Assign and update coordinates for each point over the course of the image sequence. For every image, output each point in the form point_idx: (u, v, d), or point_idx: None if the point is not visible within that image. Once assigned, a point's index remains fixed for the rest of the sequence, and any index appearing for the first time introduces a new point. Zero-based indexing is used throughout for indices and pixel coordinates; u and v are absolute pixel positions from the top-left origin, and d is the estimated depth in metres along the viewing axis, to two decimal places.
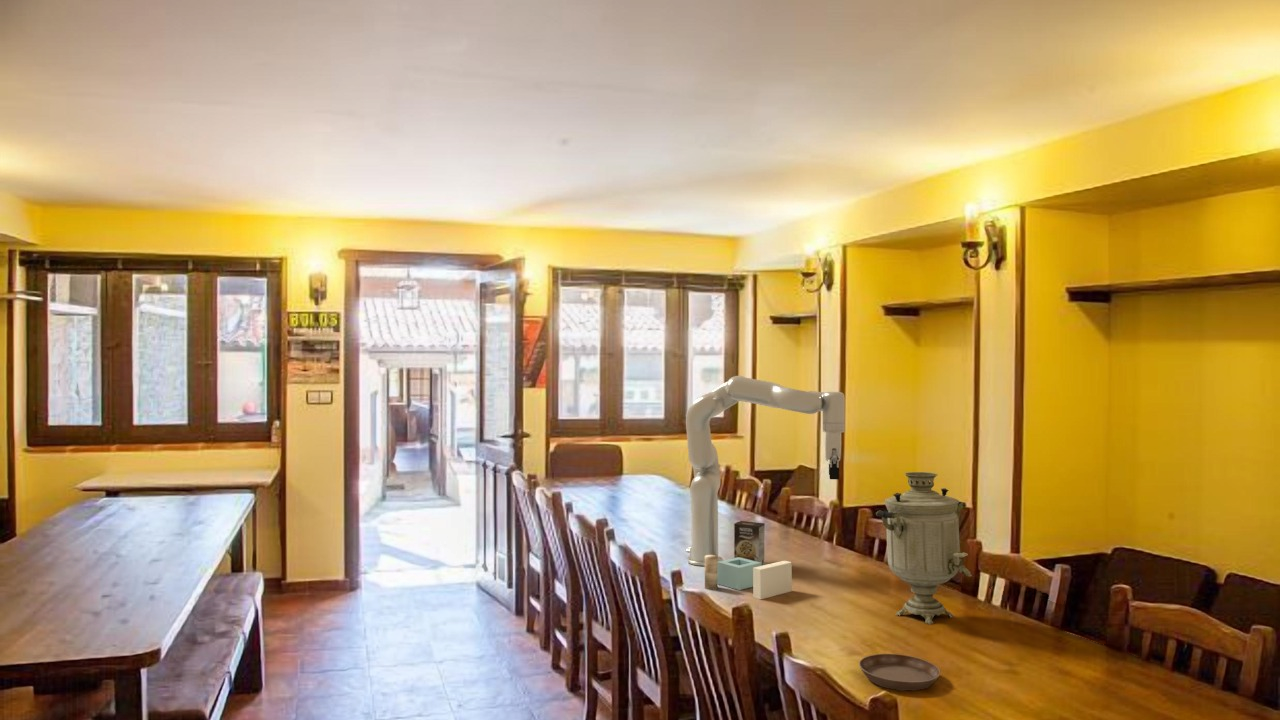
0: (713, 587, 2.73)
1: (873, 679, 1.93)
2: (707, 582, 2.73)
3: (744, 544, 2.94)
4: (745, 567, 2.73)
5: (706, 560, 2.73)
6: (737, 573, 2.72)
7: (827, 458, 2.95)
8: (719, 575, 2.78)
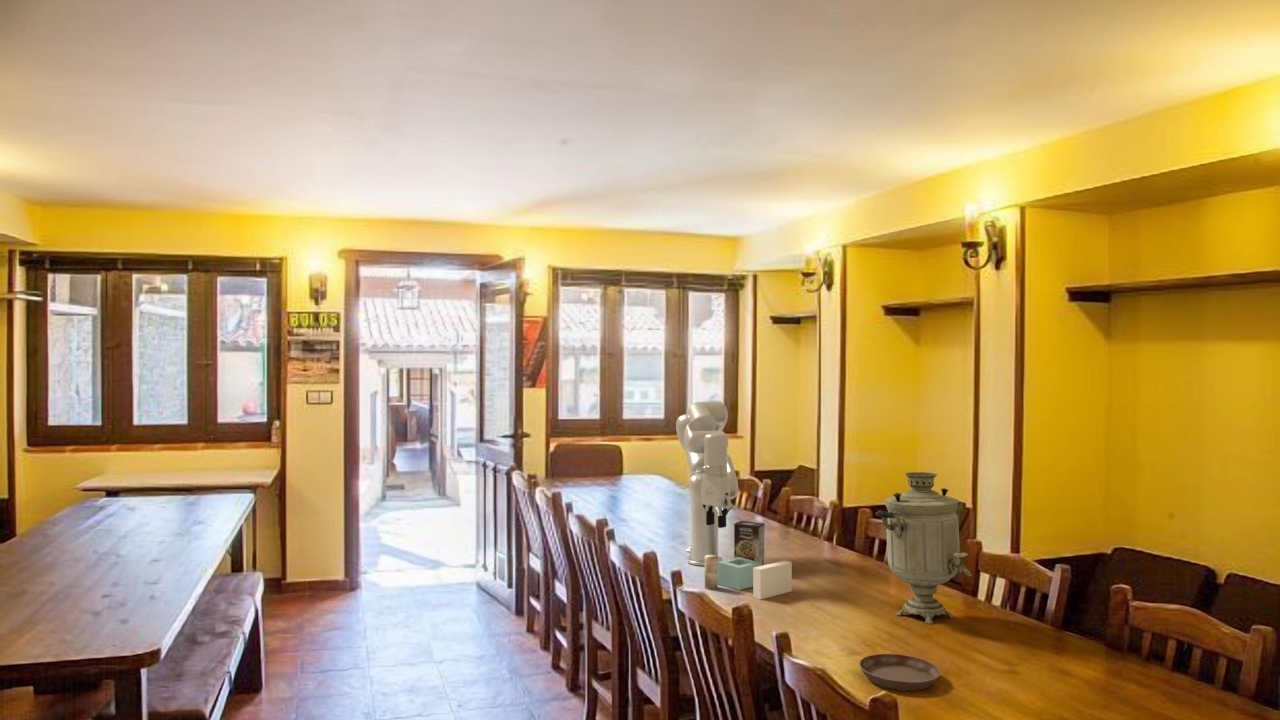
0: (713, 587, 2.73)
1: (873, 679, 1.93)
2: (707, 582, 2.73)
3: (744, 544, 2.94)
4: (745, 567, 2.73)
5: (706, 560, 2.73)
6: (737, 573, 2.72)
7: (721, 504, 2.81)
8: (719, 575, 2.78)
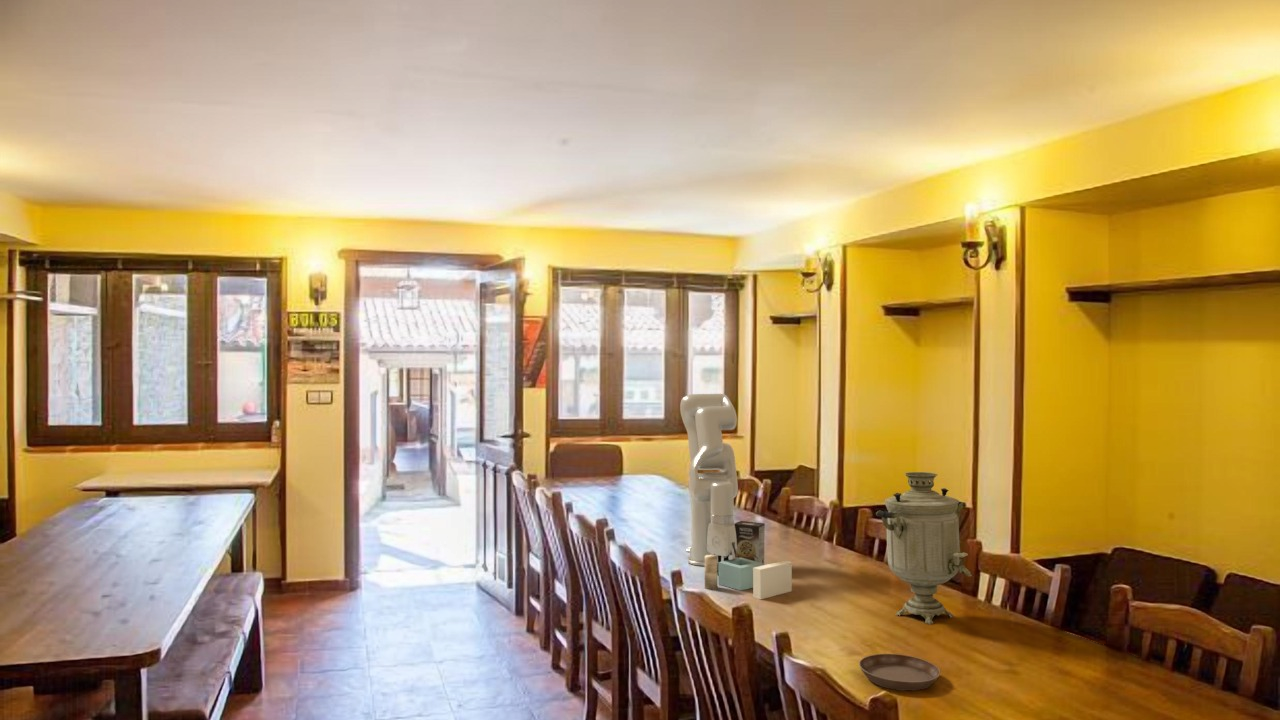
0: (713, 587, 2.73)
1: (873, 679, 1.93)
2: (707, 582, 2.73)
3: (744, 544, 2.94)
4: (747, 567, 2.72)
5: (706, 560, 2.73)
6: (739, 573, 2.71)
7: (727, 554, 2.79)
8: (721, 575, 2.77)
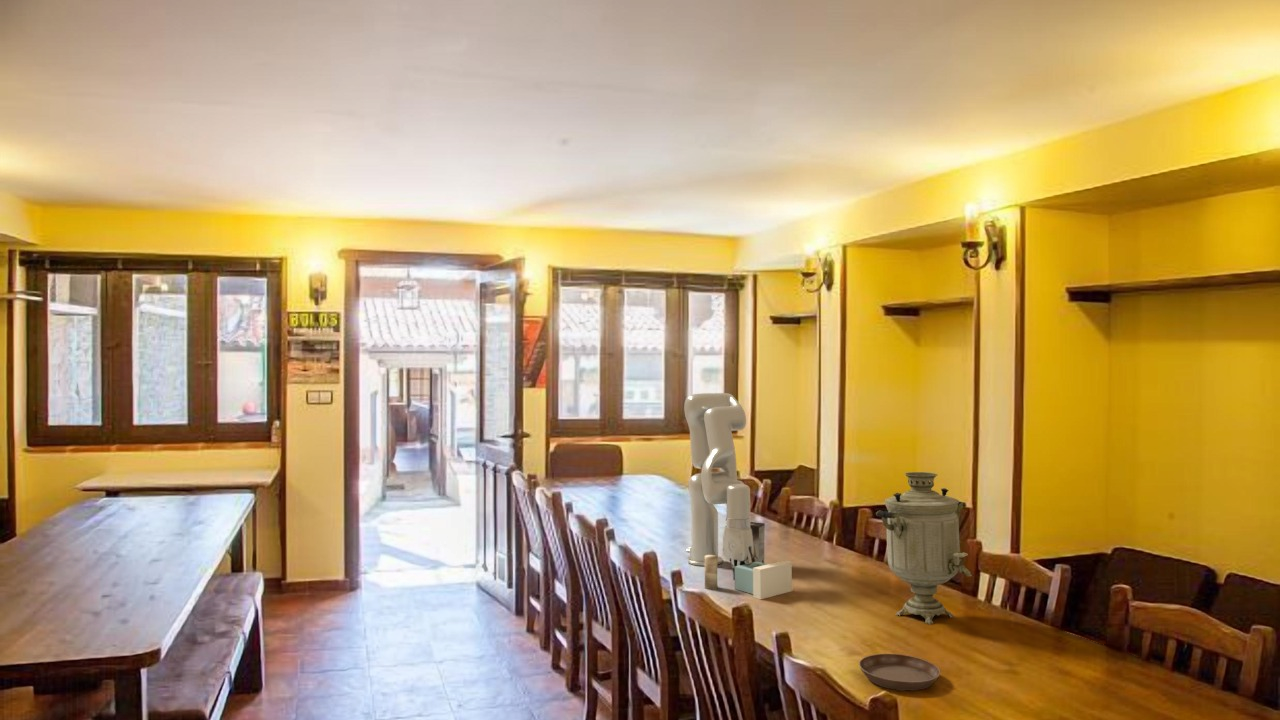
0: (713, 587, 2.73)
1: (873, 679, 1.93)
2: (707, 582, 2.73)
3: None
4: None
5: (706, 560, 2.73)
6: None
7: (744, 558, 2.73)
8: (737, 580, 2.72)
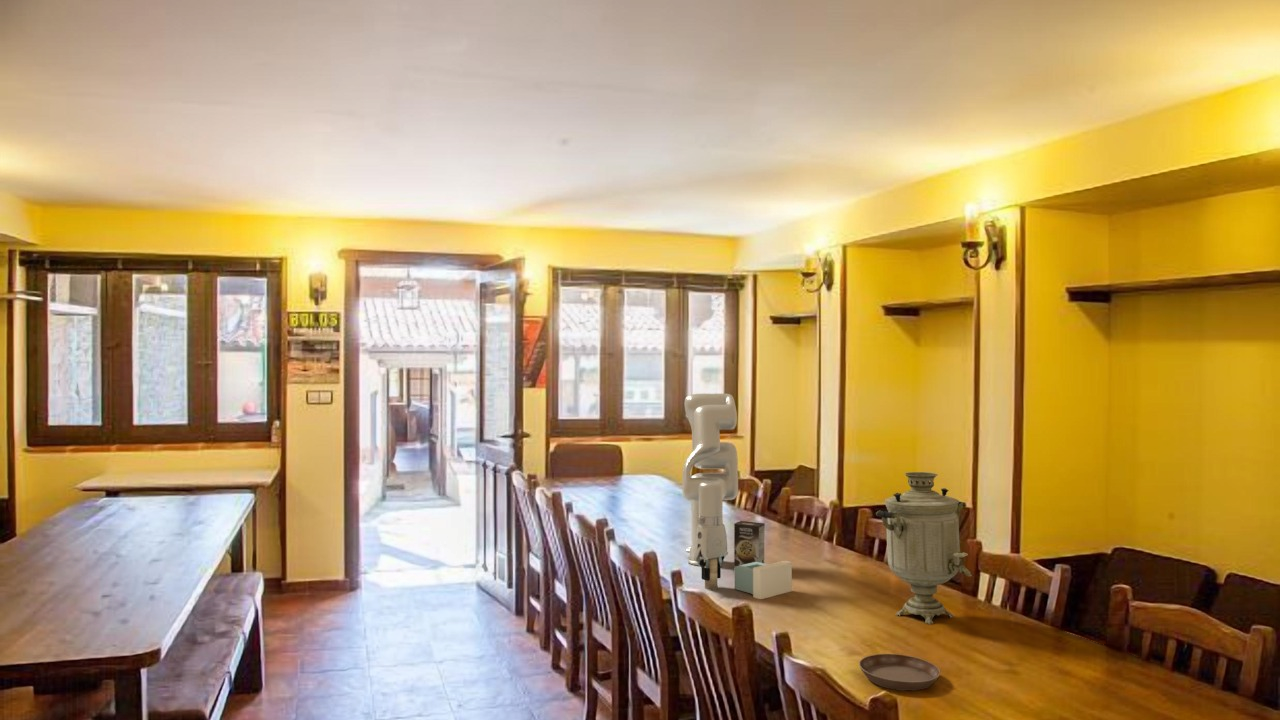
0: (713, 587, 2.73)
1: (873, 679, 1.93)
2: (707, 582, 2.73)
3: (744, 544, 2.94)
4: None
5: None
6: None
7: None
8: (737, 580, 2.72)
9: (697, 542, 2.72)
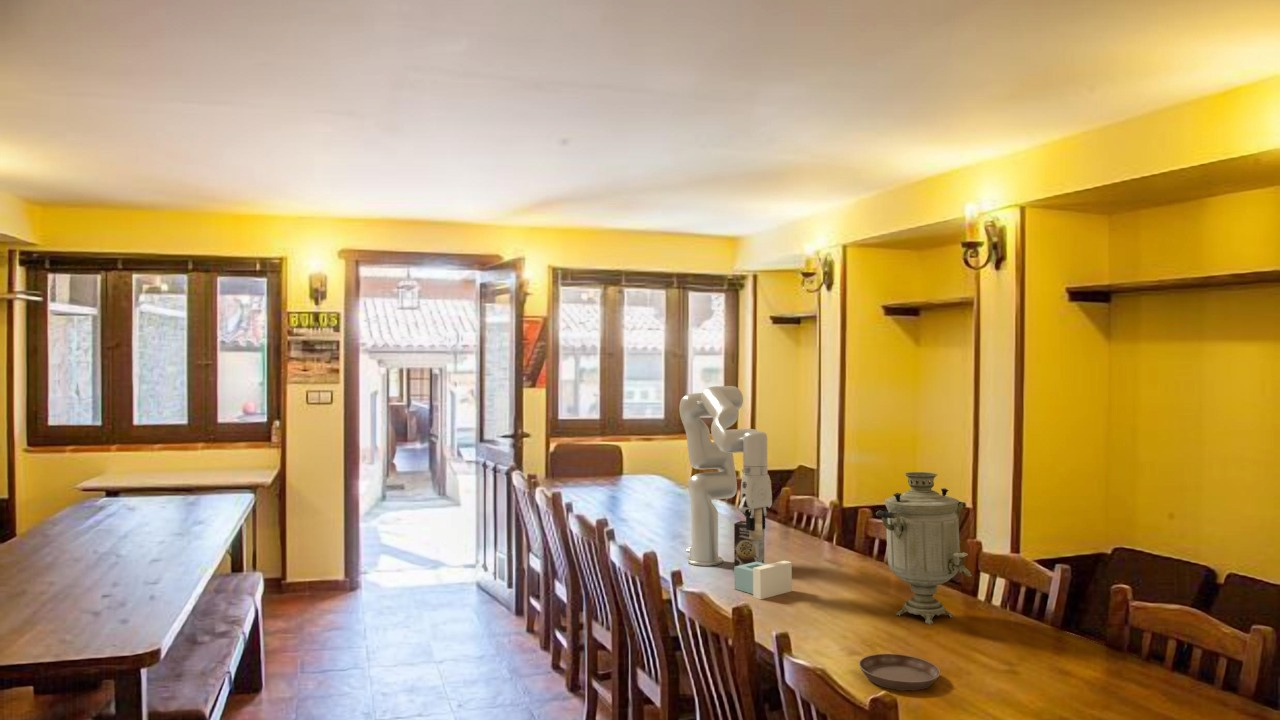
0: (758, 537, 2.70)
1: (873, 679, 1.93)
2: (752, 532, 2.70)
3: (744, 544, 2.94)
4: None
5: None
6: None
7: None
8: (737, 580, 2.72)
9: (742, 492, 2.69)
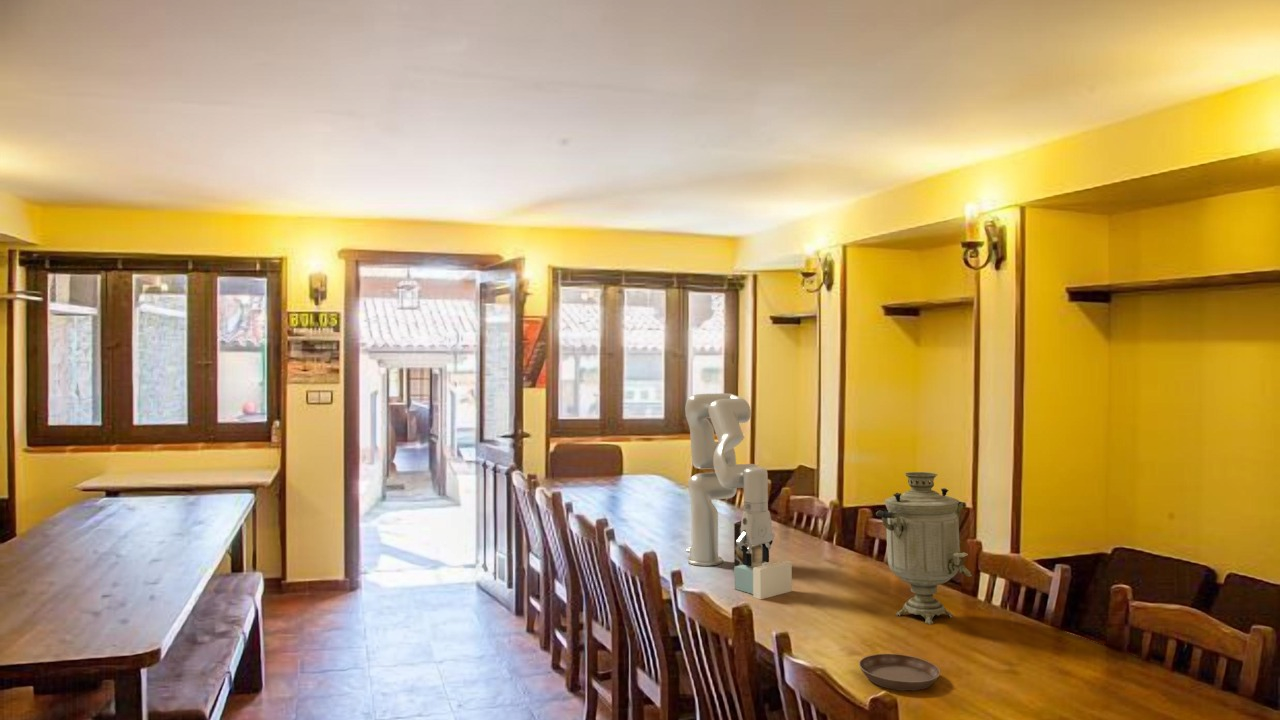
0: None
1: (873, 679, 1.93)
2: None
3: None
4: None
5: (751, 550, 2.71)
6: None
7: None
8: (737, 580, 2.72)
9: (742, 528, 2.70)
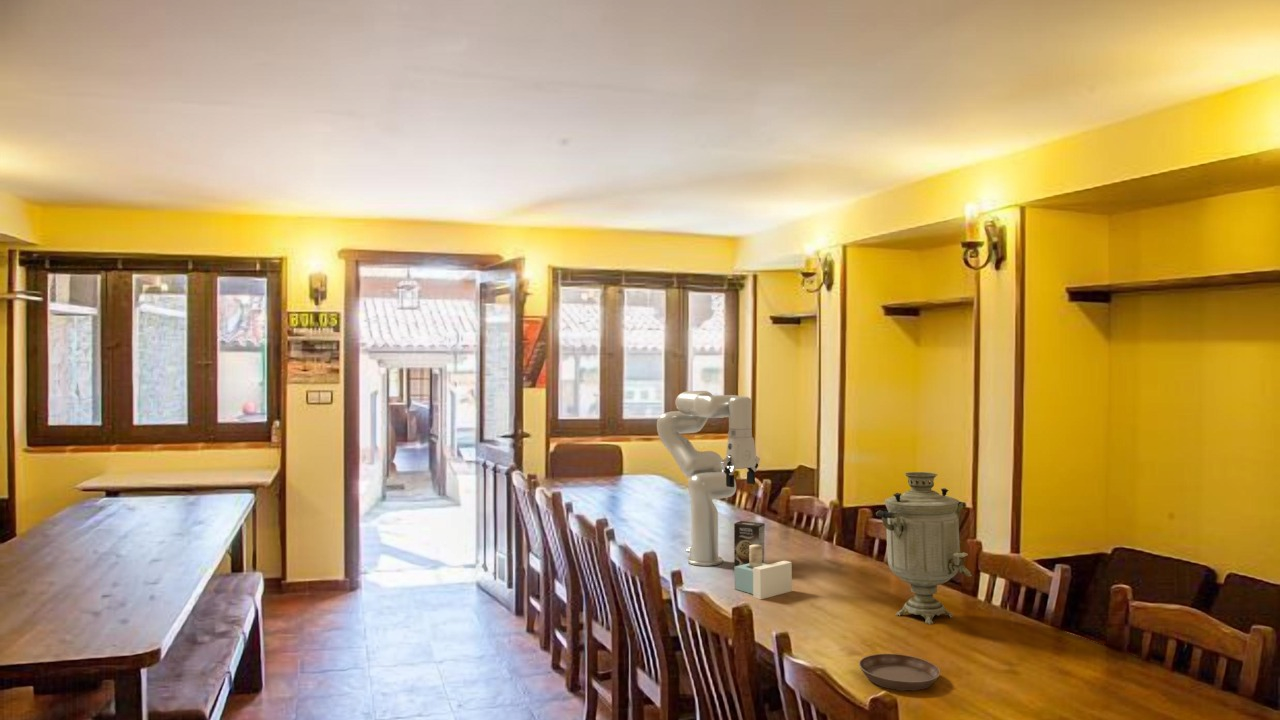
0: None
1: (873, 679, 1.93)
2: None
3: (744, 544, 2.94)
4: None
5: (751, 550, 2.71)
6: None
7: None
8: (737, 580, 2.72)
9: (728, 453, 2.86)
